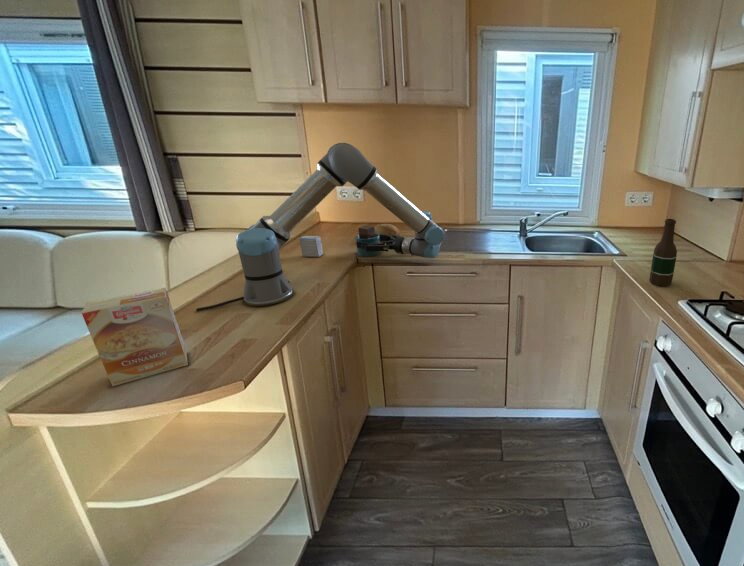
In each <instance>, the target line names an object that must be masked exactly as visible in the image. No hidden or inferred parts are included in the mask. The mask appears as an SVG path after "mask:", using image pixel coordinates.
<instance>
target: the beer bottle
mask: <svg viewBox="0 0 744 566" xmlns="http://www.w3.org/2000/svg"><path fill="white" fill-rule="evenodd" d="M676 224H677V220H675V219H674V218H665V220H664V227H663V230H662V235H661V238H660V241H659V242H658V243H657V244H656V246H655V247H654V249H653V253H652V260H651V267H650V273H649V282H650V283H651V284H652V285H653V286H657V287H665V288H666V287H669V286H671V285H672V283H673V280H674V279H673V278H674V274H675V273H674V272H675V268H676V261H677V255H678V249H677V246H676V244H675V242H674V240H675V239H674V237H675V227H676Z"/></svg>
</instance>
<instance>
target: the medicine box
mask: <svg viewBox="0 0 744 566" xmlns="http://www.w3.org/2000/svg"><path fill="white" fill-rule="evenodd" d="M298 239H299V244H300V250H301V255H302V257H303V258H304V257H307V258H308V257H309V258H311V257H312V258H320V257H321V256H323V255H324V250H323V245H322V238H321V236H320V235H303V236H301V237H300V238H298Z"/></svg>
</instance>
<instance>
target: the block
mask: <svg viewBox="0 0 744 566" xmlns="http://www.w3.org/2000/svg"><path fill="white" fill-rule="evenodd" d="M357 230H358V234H359V238H360V239H369V238H374V237H375V226H374V225H373V226H372V225H363V226H360V227H358V228H357Z"/></svg>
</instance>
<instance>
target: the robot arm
mask: <svg viewBox="0 0 744 566" xmlns="http://www.w3.org/2000/svg"><path fill="white" fill-rule="evenodd" d="M316 165H317V169H316V170H315V171H314V172H312V174H311V175H310V176H309V177H308V178H307V179H305V181H304V182H303V183H302V184H301V185H300V186H299V187H298V188H296V189H295V191H294V192H293V193H291V195H290V196H288V198H286V199H285V201H284V202H282V203H281V205H279V207H277V208H276V209H275V210H274V211H273V212H272V214H270V215H262V217H261V218H260V219H259V220H257V221H256V222H255V224H252V225H251V226H249V227H248V228H247V229H245V230H244V231H241V232H240V233H238V234H237V235H236V237H235V242H236V243H235V247H236V249H237V251H238V256H239V259H240V264H241V268H242V271H243V275H244V280H245V281H244V289H243V296H241V297H236V298H234V299H230V300H226V301H223V302H220V303H215V304H212V305H208V306H202V307H197V308H196V309H195V310H196V312H201V311H207V310H210V309H211V310H213V309H215V308H220V307H223V306H226V305H229V304H232V303H236V302H240V301H244V304H245V305H247V306H250V307H268V306H273V305H276V304H280V303H283V302H285V301H287V300H289V299H291V297H292V296H293V295H294V290H293V287H292V285H291V282H290V281H289V280H288V279H287V277H286V276H285V274H284V270H283V266H282V261H281V256H280V249H281V248H282V247H283V246H284V245H285V244H286V243H287V242H288V241H289V240H290V239H291V232H292V231H293V230H294V229H296V227H298V225H299V224H300V223H301V222H303V220H304V219H305V218H306V217H307V216H308V215H309V214H310V213H311V212H312V211H313V210H314V209H315V208H317V206H318V205H320V203H321V202H322V201H323V200H325V198H326V197H327V196H328V195H329V194H330V193H331V192H333V190H335V188H337V187H344V186H345V185H346V184H347V183H349V184H350V185H353V186H354V187H355V188H356V189H358V190H359V191H365V192H366V193H367V194H368V195H369V196H371V197H372V198H373V199H374V200H376V201H377V202H378V203H379V204H381V206H383V207H384V208H385V209H387V210H388V211H389V212H390V213H392V214H393V215H394V216H395V217H397V218H398V219H399V220H400V221H402V222H403V223H404V224H405V225H406V226H407V227H409V228H410V229H411V230H412V231H414V237H406V236H401V237H400V236H397V235H395V234H392V235H389V236H388V235H383V234H379V235H380V241H382V242H380V243H374V244H369V243H368V242H367V243H365V242H358V241H357V242H356V241H355V246H356V245H357V248H362V249H366V251H367V252H368V251H381V252H389V250H390V251H394V252H395V253H396V254H400V255H406V256H411V257H419V258H424V259H435V258H437V257H438V256H439V253H440V244H441V243H442V242H443V241H444V239H445V232H444V229H443V228H442V227H441V226H439V224H437V223H435V222H434V221H433V217H432V213H431V212H430V211H427V210H426V211H425V210H424V211H422V210H420V208H418V207H417V206H416V205H415V204H414V203H412V202H411V201H410V199H408V198H407V197H406V196H404V195H403V194H402V193H401V192H400V191H399V190H397V188H395V187H394V186H393V185H392V184H391V183H390V182H389V181H387V179H385V178H383V176H381V175H380V174H379V173H378V169H377V167H376V166H374V165H373V164H372V163H371V162H370V161H369V160H368V159H367V158H366V156H364V154H363V153H362V152H361V150H360V149H358V148H357V147H356V146H354V145H352V144H350V143H347V142H337V143H335V144H333V145H331V146H330V147H329V148H328V150H327V153H326V154H325V155H324V156H323V157H322V158H320V160H318V162H317V163H316ZM357 248H356V249H357Z"/></svg>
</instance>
